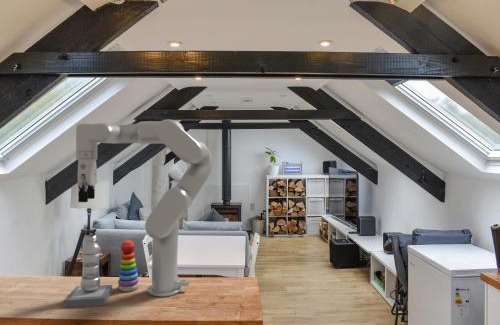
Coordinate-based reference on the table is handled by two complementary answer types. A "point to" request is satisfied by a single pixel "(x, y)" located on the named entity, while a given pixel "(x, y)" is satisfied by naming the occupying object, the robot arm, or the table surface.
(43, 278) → the table surface
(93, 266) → the metal water bottle
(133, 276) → the stacking toy
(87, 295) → the slate pedestal
